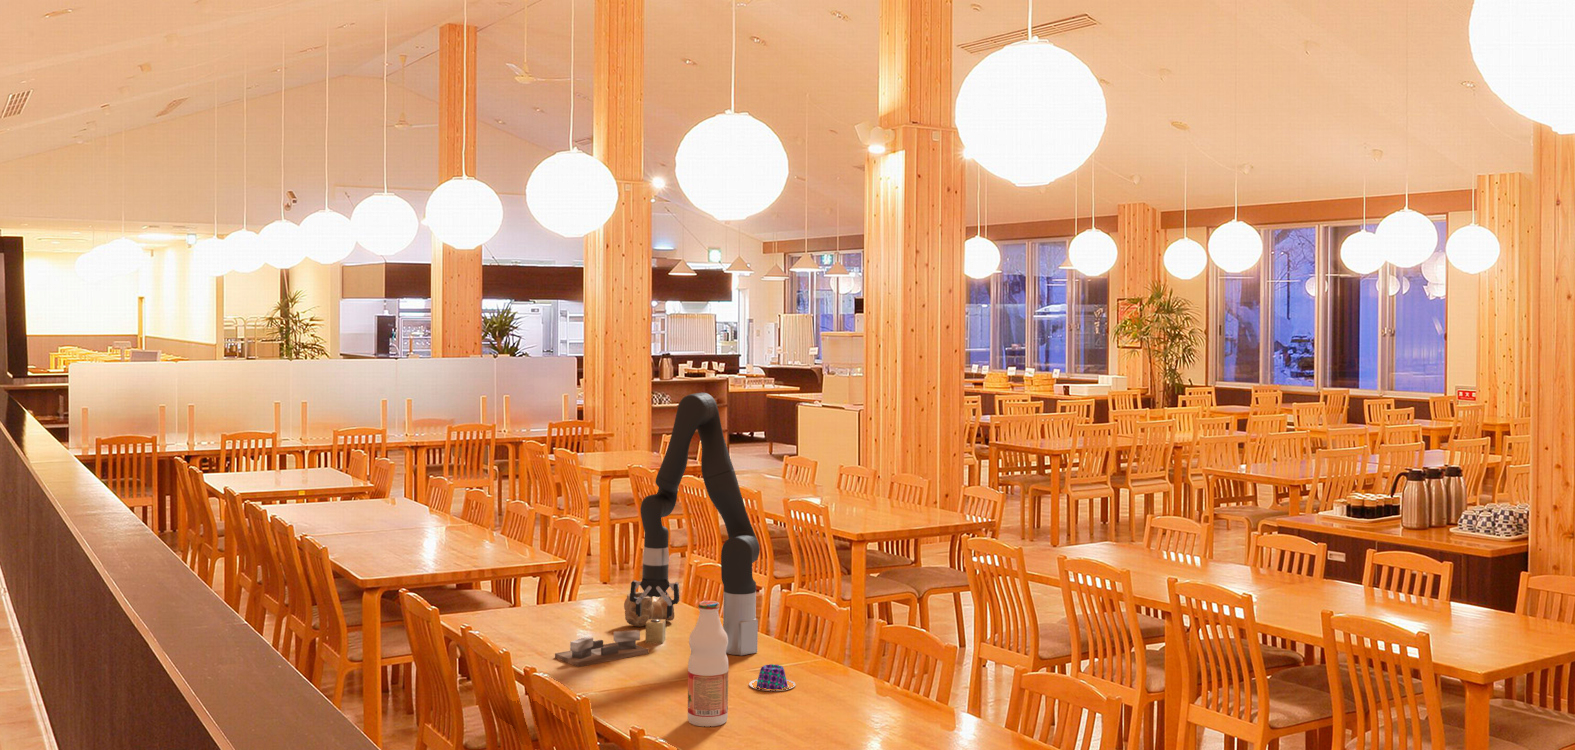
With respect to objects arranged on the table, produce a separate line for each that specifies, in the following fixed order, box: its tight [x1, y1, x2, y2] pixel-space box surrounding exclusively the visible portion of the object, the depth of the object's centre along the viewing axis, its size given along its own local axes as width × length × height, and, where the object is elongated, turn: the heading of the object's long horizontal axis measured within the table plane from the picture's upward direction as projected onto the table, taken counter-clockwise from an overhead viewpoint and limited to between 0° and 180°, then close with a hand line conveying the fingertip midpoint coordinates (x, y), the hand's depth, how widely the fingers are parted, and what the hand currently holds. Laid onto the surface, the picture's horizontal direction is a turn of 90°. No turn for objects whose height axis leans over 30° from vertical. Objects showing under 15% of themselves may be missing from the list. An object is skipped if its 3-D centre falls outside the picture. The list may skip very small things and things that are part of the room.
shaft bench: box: [554, 629, 649, 668], centre depth 355 cm, size 12×23×6 cm, turn 131°
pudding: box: [748, 663, 796, 692], centre depth 328 cm, size 12×12×5 cm
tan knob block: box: [645, 619, 667, 645], centre depth 372 cm, size 5×5×6 cm
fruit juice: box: [687, 600, 729, 728], centre depth 297 cm, size 9×9×28 cm
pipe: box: [623, 591, 675, 628], centre depth 392 cm, size 9×16×10 cm, turn 131°
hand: (653, 617), depth 372 cm, fingers open, 8 cm apart
